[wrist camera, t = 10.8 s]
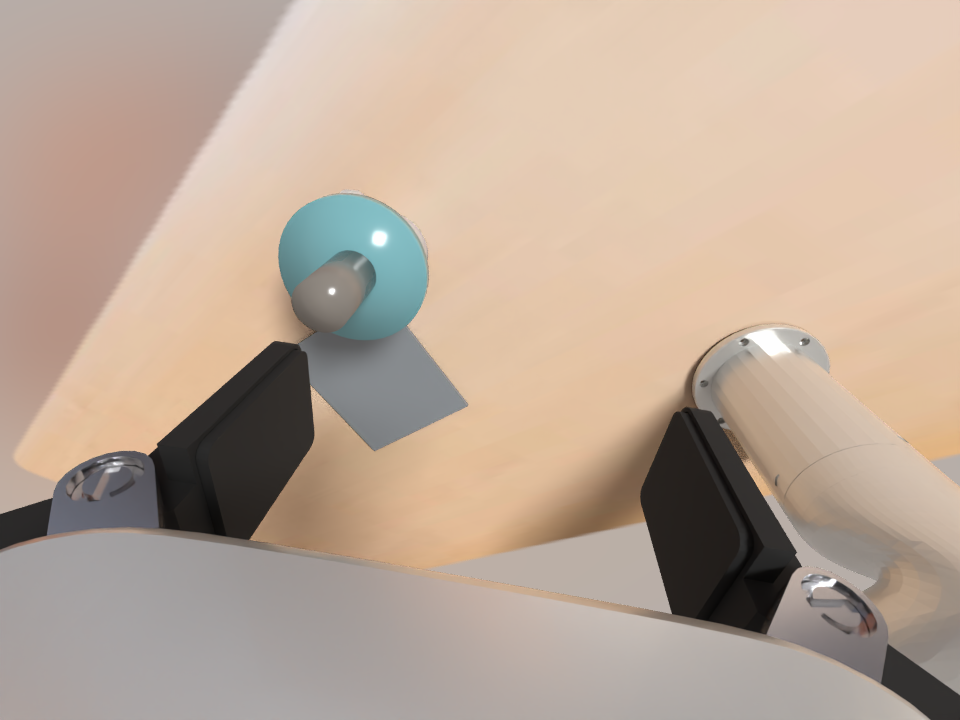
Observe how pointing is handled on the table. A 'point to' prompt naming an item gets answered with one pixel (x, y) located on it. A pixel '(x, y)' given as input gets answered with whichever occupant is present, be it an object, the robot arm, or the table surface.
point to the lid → (353, 267)
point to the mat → (380, 384)
